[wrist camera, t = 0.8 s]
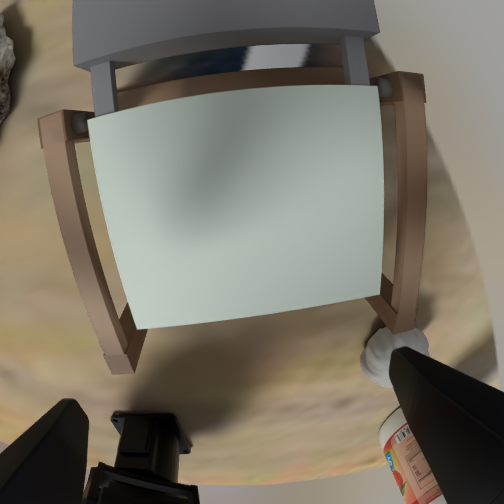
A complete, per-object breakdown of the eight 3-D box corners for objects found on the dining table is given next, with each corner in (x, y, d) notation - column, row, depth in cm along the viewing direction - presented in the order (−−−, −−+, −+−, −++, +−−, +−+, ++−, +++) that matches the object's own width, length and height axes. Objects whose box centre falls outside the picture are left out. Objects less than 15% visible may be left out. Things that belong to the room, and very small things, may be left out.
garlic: (419, 304, 23) (452, 339, 19) (410, 353, 25) (437, 390, 21) (354, 321, 23) (381, 364, 18) (351, 370, 25) (372, 413, 20)
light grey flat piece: (366, 279, 15) (387, 302, 13) (144, 311, 15) (133, 340, 12) (344, -15, 10) (364, -35, 8) (94, 12, 9) (73, -6, 7)
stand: (358, 264, 21) (415, 329, 14) (141, 295, 21) (110, 374, 13) (348, 69, 17) (420, 42, 9) (102, 99, 16) (32, 85, 8)
